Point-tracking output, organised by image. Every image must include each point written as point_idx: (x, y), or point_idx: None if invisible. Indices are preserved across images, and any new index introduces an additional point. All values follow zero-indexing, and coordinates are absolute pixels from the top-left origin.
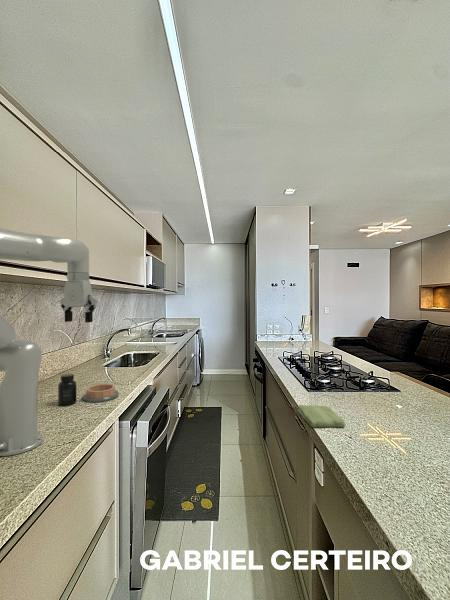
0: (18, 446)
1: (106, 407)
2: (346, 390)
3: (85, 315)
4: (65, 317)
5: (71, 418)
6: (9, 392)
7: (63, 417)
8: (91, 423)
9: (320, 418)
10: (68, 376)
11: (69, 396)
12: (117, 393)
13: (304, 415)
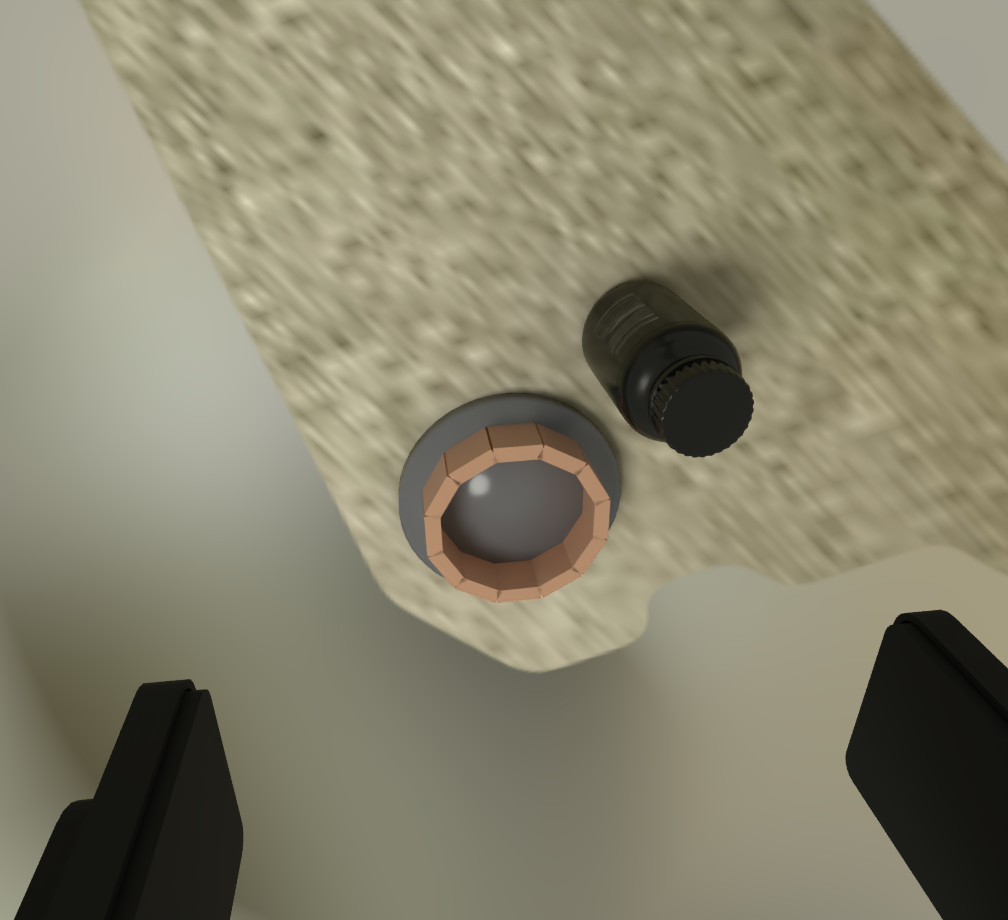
0: None
1: (329, 364)
2: None
3: (109, 884)
4: (1000, 693)
5: (396, 125)
6: None
7: (463, 121)
8: (186, 95)
9: None
10: (673, 392)
11: (607, 327)
12: (419, 549)
13: None
